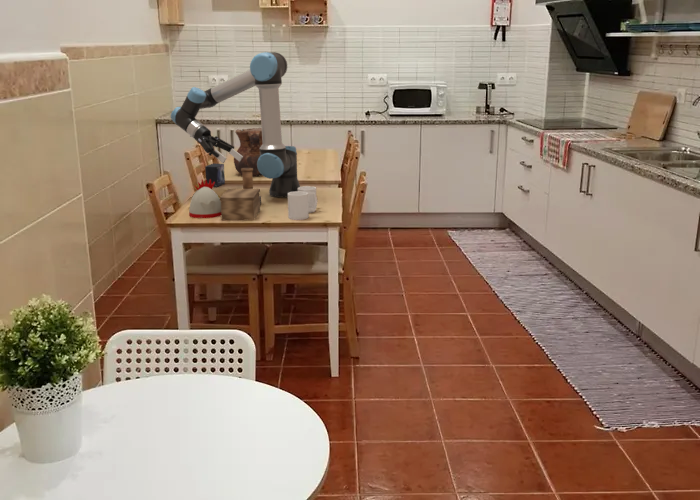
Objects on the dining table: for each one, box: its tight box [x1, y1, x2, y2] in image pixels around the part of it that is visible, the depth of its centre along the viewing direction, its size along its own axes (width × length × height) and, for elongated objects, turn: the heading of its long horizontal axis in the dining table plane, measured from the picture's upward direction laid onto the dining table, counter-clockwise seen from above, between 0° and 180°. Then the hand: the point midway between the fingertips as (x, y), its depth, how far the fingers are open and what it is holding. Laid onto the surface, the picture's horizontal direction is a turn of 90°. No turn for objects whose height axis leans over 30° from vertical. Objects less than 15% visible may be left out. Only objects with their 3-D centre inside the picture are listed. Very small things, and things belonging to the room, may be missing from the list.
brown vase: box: [233, 127, 263, 177], centre depth 379 cm, size 22×21×25 cm
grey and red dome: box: [188, 178, 222, 219], centre depth 288 cm, size 14×14×15 cm
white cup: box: [298, 185, 317, 214], centre depth 292 cm, size 8×8×10 cm
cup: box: [287, 191, 318, 221], centre depth 282 cm, size 8×12×10 cm
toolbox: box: [219, 188, 262, 221], centre depth 294 cm, size 14×33×9 cm, turn 179°
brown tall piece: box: [241, 168, 254, 189], centre depth 305 cm, size 5×5×16 cm
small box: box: [204, 163, 226, 188], centre depth 352 cm, size 11×6×10 cm, turn 168°
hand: (233, 159), depth 310 cm, fingers open, 13 cm apart
